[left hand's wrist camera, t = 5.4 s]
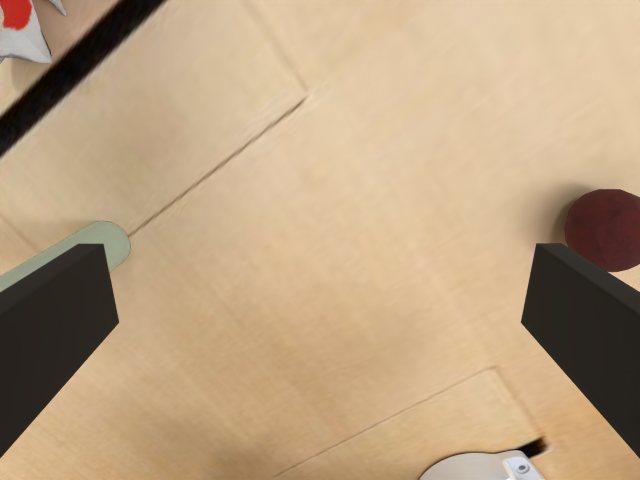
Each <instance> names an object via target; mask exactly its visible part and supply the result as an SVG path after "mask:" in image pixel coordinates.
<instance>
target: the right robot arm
mask: <svg viewBox="0 0 640 480" xmlns="http://www.w3.org/2000/svg"><path fill="white" fill-rule="evenodd" d="M419 480H546V479H545V478H544V477H543V476H542V475H541V473H540V472H539V471H538V470H537V468H536V467H535V466H534V465H533V464H532V462H531V461H530V460H529V459H528V458H527V456H526V455H525V454H524V453H523V452H522V451H519V450H512V451H506V452H502V453H498V454H488V453H466V454H460V455H456V456H452V457H449V458H447V459H444V460H442V461H440V462H438V463H437V464H435V465H433V466H432V467H431V468H429V469H428V470H427V471H426V472H425V473H424V474H423V475H422V477H421V478H420V479H419Z"/></svg>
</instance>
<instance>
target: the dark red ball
mask: <svg viewBox="0 0 640 480" xmlns="http://www.w3.org/2000/svg"><path fill="white" fill-rule="evenodd" d="M565 237H566V242H567V244H568V246H569V248H570V249H571V250H573V251H574V252H576V253H578V254H579V255H581V256H582V257H584V258H586V259H587V260H589V261H590V262H592V263H594V264H595V265H597V266H599V267H600V268H602V269H603V270H605V271H607V272H619V271H624V270H628V269H630V268H633V267H635V266H637V265H639V264H640V197H638V196H636V195H633V194H631V193H628V192H625V191H623V190H620V189H598V190H595V191H593V192H590V193H587V194H585V195H583V196H582V197H581V198H580V199H578V200H577V201H576V202H575V203H574V205H573V206H572V208H571V209H570V211H569V214H568V218H567V221H566V225H565Z"/></svg>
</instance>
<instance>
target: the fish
mask: <svg viewBox="0 0 640 480" xmlns="http://www.w3.org/2000/svg"><path fill="white" fill-rule="evenodd" d="M49 1H50V2H51V3H52V4H53V5H54V6H55V7H56V8H57V9H58V10H59V11H60V12H61V13H62V14H63V15H64V16H66V12H65V10H64V8H63V5H62V3H61V1H60V0H49ZM0 9H1V11H2V14H3V16H4V22H3V25H2V28H1V31H0V64H1V62H2V61H3V60H4V58H19V59H23V60H28V61H32V62H42V63H53V62H52V57H51V51H50V49H49V47H48V44H47V42H46V40H45V38H44V35H43V33H42V31H41V28H40V25H39V21H38V18H37V15H36V12H35V9H34V6H33V3H32V0H0Z"/></svg>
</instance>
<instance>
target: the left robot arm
mask: <svg viewBox="0 0 640 480" xmlns="http://www.w3.org/2000/svg"><path fill="white" fill-rule="evenodd" d="M118 323H119V319H118V314H117V309H116V304H115V299H114V294H113V289H112V284H111V279H110V273H109V268H108V263H107V258H106V253H105V248H104V244H77V245H75V246H74V247H72V248H70V249H69V250H67V251H66V252H64V253H62V254H61V255H59V256H58V257H56V258H54V259H53V260H51V261H49V262H48V263H46V264H45V265H43V266H41V267H40V268H38V269H37V270H35V271H33V272H32V273H30V274H29V275H27V276H25V277H24V278H22V279H21V280H19V281H17V282H16V283H14V284H13V285H11V286H9V287H8V288H6V289H5V290H3V291H1V292H0V458H1V457H2V456H3V455H4V454H5V452H6V451H7V450H8V449H9V448H10V447H11V446H12V444H13V443H14V442H15V441H16V440H17V439H18V438H19V436H20V435H21V434H22V433H23V432H24V431H25V430H26V428H27V427H28V426H29V425H30V424H31V423H32V422H33V420H34V419H35V418H36V417H37V416H38V415H39V414H40V412H41V411H42V410H43V409H44V408H45V407H46V406H47V404H48V403H49V402H50V401H51V400H52V399H53V398H54V396H55V395H56V394H57V393H58V392H59V391H60V390H61V388H62V387H63V386H64V385H65V384H66V383H67V382H68V380H69V379H70V378H71V377H72V376H73V375H74V374H75V372H76V371H77V370H78V369H79V368H80V367H81V366H82V364H83V363H84V362H85V361H86V360H87V359H88V358H89V356H90V355H91V354H92V353H93V352H94V351H95V350H96V348H97V347H98V346H99V345H100V344H101V343H102V342H103V340H104V339H105V338H106V337H107V336H108V335H109V334H110V332H111V331H112V330H113V329H114V328H115V327H116V326H117V324H118ZM521 323H522V324H523V326H524V327H525V328H526V329H527V330H528V331H529V332H530V334H531V335H532V336H533V337H534V338H535V339H536V340H537V342H538V343H539V344H540V345H541V346H542V347H543V348H544V350H545V351H546V352H547V353H548V354H549V355H550V356H551V358H552V359H553V360H554V361H555V362H556V363H557V364H558V366H559V367H560V368H561V369H562V370H563V371H564V372H565V374H566V375H567V376H568V377H569V378H570V379H571V380H572V382H573V383H574V384H575V385H576V386H577V387H578V388H579V390H580V391H581V392H582V393H583V394H584V395H585V396H586V398H587V399H588V400H589V401H590V402H591V403H592V404H593V406H594V407H595V408H596V409H597V410H598V411H599V412H600V414H601V415H602V416H603V417H604V418H605V419H606V420H607V422H608V423H609V424H610V425H611V426H612V427H613V428H614V430H615V431H616V432H617V433H618V434H619V435H620V436H621V438H622V439H623V440H624V441H625V442H626V443H627V444H628V446H629V447H630V448H631V449H632V450H633V451H634V452H635V454H636V455H637V456H638V457H639V458H640V292H639V291H637V290H635V289H634V288H632V287H631V286H629V285H627V284H626V283H624V282H623V281H621V280H619V279H618V278H616V277H615V276H613V275H611V274H610V273H608V272H607V271H605V270H603V269H602V268H600V267H599V266H597V265H595V264H594V263H592V262H590V261H589V260H587V259H586V258H584V257H582V256H581V255H579V254H578V253H576V252H574V251H573V250H571V249H570V248H568V247H566V246H565V245H563V244H536V248H535V253H534V258H533V263H532V268H531V273H530V279H529V284H528V289H527V294H526V299H525V304H524V309H523V314H522V319H521Z"/></svg>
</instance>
